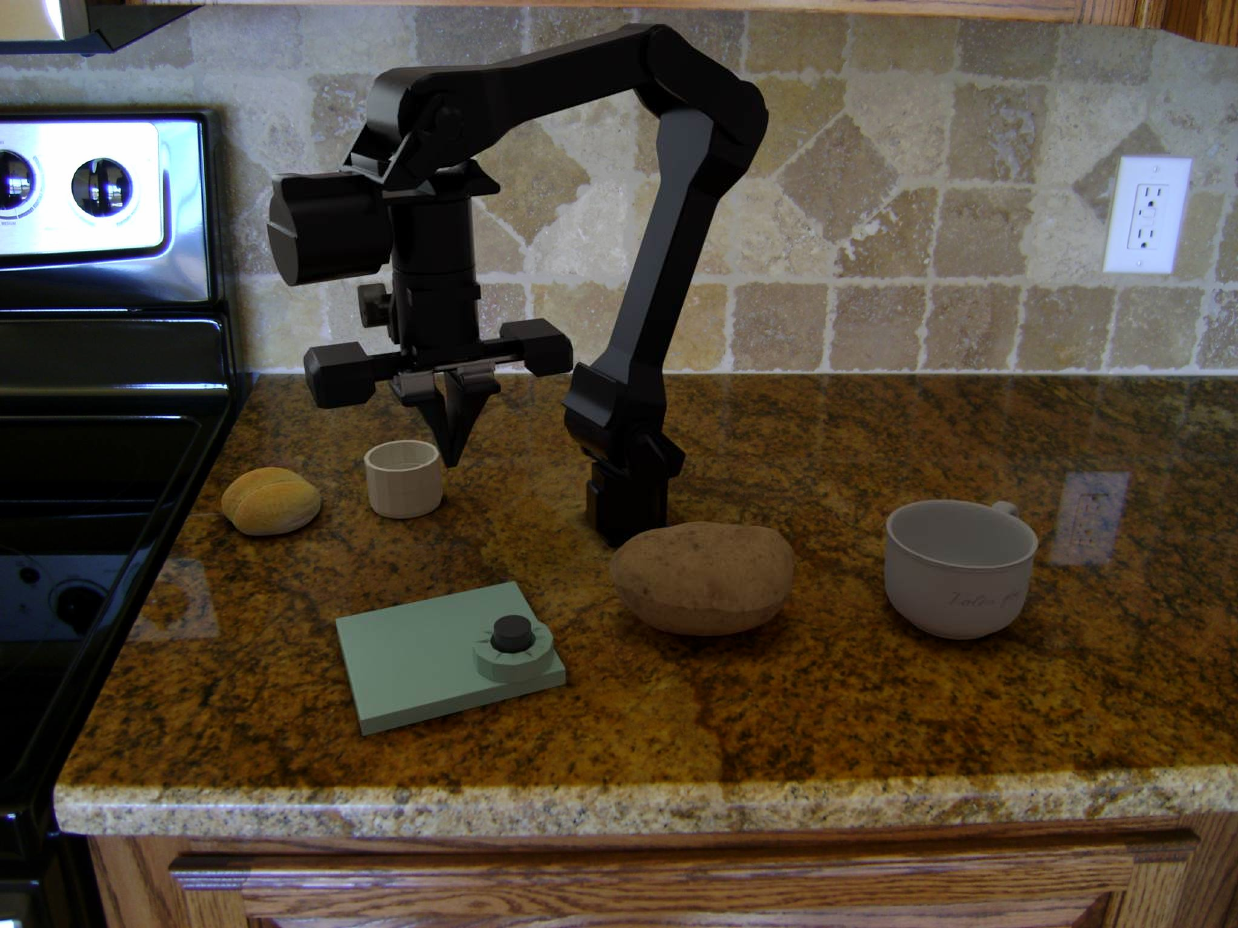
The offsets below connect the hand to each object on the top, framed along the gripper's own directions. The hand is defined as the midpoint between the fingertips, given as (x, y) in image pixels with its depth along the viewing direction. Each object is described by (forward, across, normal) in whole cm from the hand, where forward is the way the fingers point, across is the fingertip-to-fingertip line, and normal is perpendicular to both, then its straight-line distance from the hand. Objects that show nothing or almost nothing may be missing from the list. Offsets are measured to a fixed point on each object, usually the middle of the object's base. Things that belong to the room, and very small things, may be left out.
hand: (450, 465), depth 72 cm
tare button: (+8, 0, +13) cm, 15 cm away
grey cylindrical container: (+11, +1, -16) cm, 19 cm away
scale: (+11, +4, +9) cm, 15 cm away
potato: (+11, -15, +13) cm, 23 cm away
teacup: (+11, -35, +20) cm, 42 cm away
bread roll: (+11, +12, -18) cm, 25 cm away
